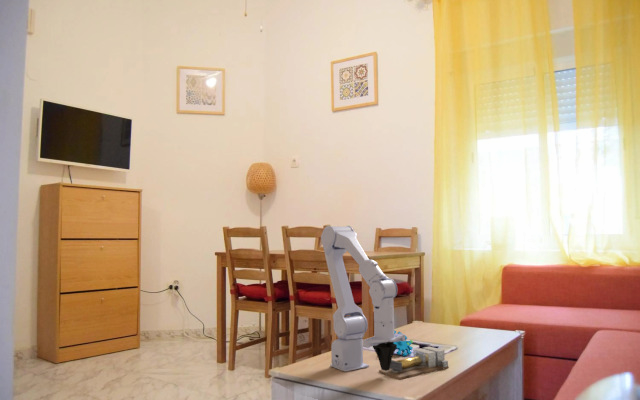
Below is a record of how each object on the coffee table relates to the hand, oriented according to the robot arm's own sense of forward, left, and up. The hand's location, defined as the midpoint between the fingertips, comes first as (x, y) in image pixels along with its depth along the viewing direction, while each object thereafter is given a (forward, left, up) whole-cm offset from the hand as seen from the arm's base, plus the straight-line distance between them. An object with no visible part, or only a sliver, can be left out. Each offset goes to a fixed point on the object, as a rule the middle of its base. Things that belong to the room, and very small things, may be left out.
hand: (385, 369), depth 138 cm
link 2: (+20, -1, -1) cm, 20 cm away
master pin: (+9, 0, -1) cm, 9 cm away
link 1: (+16, +1, -1) cm, 16 cm away
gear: (+22, +17, -2) cm, 28 cm away
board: (+11, 0, -2) cm, 12 cm away
